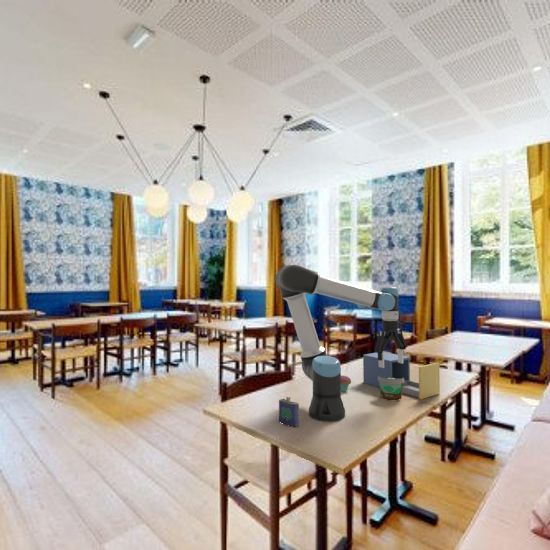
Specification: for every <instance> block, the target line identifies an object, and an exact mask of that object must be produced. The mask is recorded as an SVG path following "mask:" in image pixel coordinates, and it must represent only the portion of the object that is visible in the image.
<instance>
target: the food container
mask: <svg viewBox="0 0 550 550" xmlns="http://www.w3.org/2000/svg"><path fill="white" fill-rule="evenodd" d="M378 381H379V384H380V387H379V391H380V397H382V398H381V399H383V400H385V399H387V400H386V401H390V400H397V401H400V400H399V399H401V400H402V397H403V393H402V388H403V383H404V382H405V381H404V379H403V378H402V379H396V378H391V377H389V378H381V377H378Z"/></svg>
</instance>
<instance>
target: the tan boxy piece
mask: <svg viewBox="0 0 550 550" xmlns="http://www.w3.org/2000/svg"><path fill="white" fill-rule="evenodd" d="M440 384H441V383H440V362H433V363H430V364H426V365H425V364H424V365H421V366H418V382H417V381H413V380H411V379H410V380H406V381H405V382H404V383H403V388H402V394H406V395H409V396H411V397H416V398H418V399H419V400H423V399H426V398H429V397H433V396H437V395H439V394H440V393H441V391H440V390H441V388H440V386H441V385H440Z"/></svg>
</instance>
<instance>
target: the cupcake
mask: <svg viewBox="0 0 550 550" xmlns="http://www.w3.org/2000/svg"><path fill="white" fill-rule="evenodd" d="M351 383H352V379H351V378H350V377H348V376H347V375H341V392H346V390H347V391H348V388H349V385H351Z"/></svg>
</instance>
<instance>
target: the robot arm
mask: <svg viewBox="0 0 550 550" xmlns="http://www.w3.org/2000/svg"><path fill="white" fill-rule="evenodd" d="M275 284H276V286H277V287H278V289H279V290H280V295H281V297H282V299H283V300H285V301H286V303H287V305H288V308H289V312H290V315H291V319H292V322H293V325H294V329H295V331H296V335H297V338H298V342H299V345H300V348H301V353H300V354H299V356H300V360H301V369H302V371H303V373H304V375H305V377H307V378H308V379H309V380H310V381H312V398H311V400H310V405H309V407H308V415H309V417H310V418H311V417H312V418H311V419H313V418H314V420H316V419H317V420H316V421H320V420H322V422H337V421H340V420H343V419H344V418H345V417H346V409H345V405H344V403H343V399H342V397H341V396H342V395H341V394H342V393H341V392H342V391H341V376H342V374H341V373H342V372H341V371H342V368H341V361H340V360H339V359H338V358H337V357H334V356H330V355H327V354H328V353H327V352H326V348H325V347H324V346H321V344H320V341H319V337H318V333H317V331H316V328H315V324H314V320H313V316H312V314H311V311H310V307H309V304H308V300H307V297H306V295H307V294H309V295H313V294H318V295H322V296H325V297H329V298H334V299H337V300H341V301H345V302H350V303H352V304H356V305H357V307H358V308H360V309H373V310H378V311H381V319H382V321H381V328H383V331H381V330H379V331H378V336H377V340H376V344H375V346H374V349H373V351H374V352H373V353H378V362H379V367H382V368H384V353H383V352H385V351H384V350H385V349H386V347H387V344H388V343H389V342H390V341H394V343H395V344H396V346H397V355H398V363H402V364H403V363H404V361H403V356H405V350H406V349H407V348H408V345H407V342H406V339H405V337H404V334H403V329H402V328H400V321H399V319H400V318H399V296H400V295H399V290H398V288H397V287H396V286H382V287H381V289H380V290H381V291H378V290H374V289H371V288H368V287H363V286H360V285H355V284H354V283H349V282H345V281H342V280H338V279H335V278H330V277H327V276H323V275H320V273H319V272H318V271H314V270H312V269H308V268H306V267H304V266H301V265H298V264H291V265H284V266H282V267H281V268H279V270H278V271H277V272H276V275H275Z"/></svg>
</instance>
